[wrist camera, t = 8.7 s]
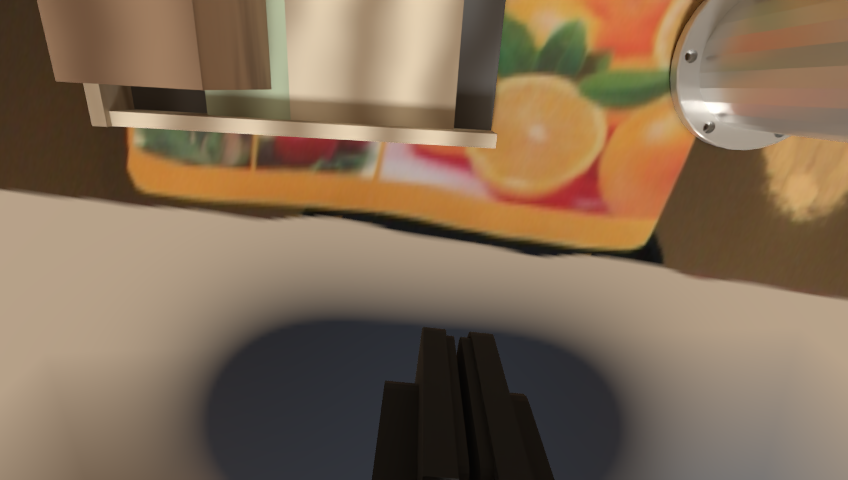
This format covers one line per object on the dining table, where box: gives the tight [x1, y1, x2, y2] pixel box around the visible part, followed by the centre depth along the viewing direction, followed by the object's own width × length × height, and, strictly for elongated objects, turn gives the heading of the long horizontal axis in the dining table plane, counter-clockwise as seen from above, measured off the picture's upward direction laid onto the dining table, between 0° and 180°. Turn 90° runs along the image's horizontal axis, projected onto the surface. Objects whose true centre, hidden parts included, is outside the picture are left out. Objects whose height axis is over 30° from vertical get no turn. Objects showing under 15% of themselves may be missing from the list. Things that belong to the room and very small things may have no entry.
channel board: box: [83, 0, 506, 148], centre depth 28 cm, size 28×12×4 cm, turn 87°
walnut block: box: [37, 0, 271, 90], centre depth 24 cm, size 7×6×10 cm
